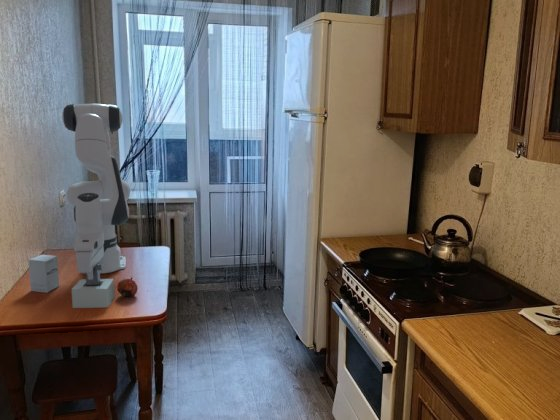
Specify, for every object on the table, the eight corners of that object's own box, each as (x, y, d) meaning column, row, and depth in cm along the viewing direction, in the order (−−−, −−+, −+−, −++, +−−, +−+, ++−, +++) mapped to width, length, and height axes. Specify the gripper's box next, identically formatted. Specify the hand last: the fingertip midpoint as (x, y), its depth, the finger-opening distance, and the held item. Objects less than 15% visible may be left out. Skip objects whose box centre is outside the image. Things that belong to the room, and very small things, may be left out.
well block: (81, 297, 174) (80, 279, 173) (114, 296, 176) (113, 278, 174) (72, 308, 165) (71, 289, 163) (108, 307, 166) (107, 288, 164)
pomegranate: (133, 306, 173) (146, 284, 179) (122, 295, 168) (136, 272, 174) (118, 304, 176) (131, 282, 182) (107, 293, 171) (121, 271, 177)
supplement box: (47, 293, 177) (44, 261, 174) (30, 291, 178) (27, 259, 176) (60, 286, 184) (57, 255, 181) (43, 284, 185) (41, 253, 183)
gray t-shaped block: (85, 293, 171) (83, 262, 168) (105, 293, 171) (103, 262, 169) (82, 297, 168) (80, 265, 165) (103, 296, 168) (101, 264, 166)
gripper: (89, 232, 175) (91, 267, 178) (72, 247, 155) (74, 287, 158) (107, 232, 176) (109, 267, 179) (91, 247, 156) (94, 286, 159)
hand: (92, 276), depth 168 cm, fingers closed on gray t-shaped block, 3 cm apart
